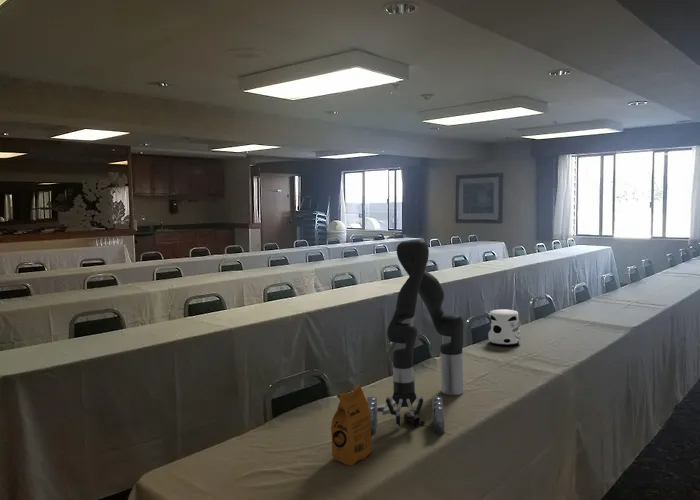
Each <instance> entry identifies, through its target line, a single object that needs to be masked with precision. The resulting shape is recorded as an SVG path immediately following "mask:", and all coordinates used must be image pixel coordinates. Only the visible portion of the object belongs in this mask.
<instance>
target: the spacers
mask: <svg viewBox="0 0 700 500" xmlns="http://www.w3.org/2000/svg"><path fill="white" fill-rule="evenodd" d="M431 399H432V400H431V401H432V403H431V406H432V423H433V424H432V425H433V432H434V434H435V435H437V436H438V435H439V436H441V435H442V436H443V435H444V434H445V433H446V432H445V408H444V402H443V397H442V396H433V397H432V398H431ZM366 401H367V403H368V407H369V413H370V423H371V435H375V434H376V433H377V427H378V424H377V423H378V422H379V421H378V412H377V406H378V400H377V397H376V396H367V398H366Z"/></svg>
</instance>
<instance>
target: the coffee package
mask: <svg viewBox="0 0 700 500" xmlns="http://www.w3.org/2000/svg"><path fill="white" fill-rule="evenodd" d="M336 398H337V399H338V400H339V403H338V406H337V410H336V411H335V413H334V415H333V417H332V419H331V425H330V426H331V427H330V431H331V434H330V435H331V456H332V458H333V460H334V461H338V462H339V463H342V464H344V465H346V466H353V465H355V464H356V463H357V462H358V461H362V460H363V461H364V460H365V459H366V458H367V457H368V456H369V455H370V454H372V434H371V423H370V413H369V407H368V403H367V398H366V397H365V394H364V392H363V389H362V387H361V385H360V384H357V385H356V386H355V387H354V388H353V390H352V391H350V392H343V393H338V394H337V395H336Z"/></svg>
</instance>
